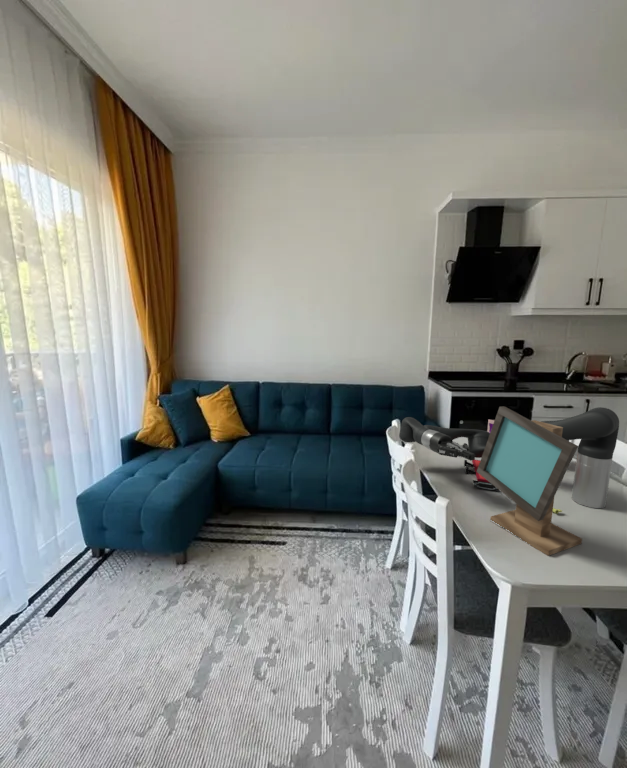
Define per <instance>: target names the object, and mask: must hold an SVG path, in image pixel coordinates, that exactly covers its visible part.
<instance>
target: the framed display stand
mask: <svg viewBox="0 0 627 768" xmlns="http://www.w3.org/2000/svg"><path fill="white" fill-rule="evenodd" d="M531 421H532V422H534V423H536V424H538V425H540V426H542V427H544V428H545V429H547V430H549V431H551V432H553V433H555V434H557V435H558V436H560V437H562V431H563V427H559V426H555V425H551V424H547V423H543V422H541V421H539V420H535V419H534V420H533V419H532V420H531ZM554 501H555V497H554V498H553V500H552V502H551V504H550V506H549V508H548V511H547V513H546V515H545V517H544V519H543V520H540V521H537V520H536V519H535V518H534V517H532V516H531V515H530V514H529V513H527V512H526V511H525V510H524V509H522V508H521V507H520V506H519V505H517V504H516V503H515V509H512V510H510V511H505V512H502V513H499V514H494V515H492V516H490V520H492V521H494V522H495V523H497V524H499V525H500V526H502V527H504V528H505V529H507V530H509V531H510V532H512V533H513V534H514V535H516V536H518V537H519V538H521V539H522V540H521V539H520V540H521V541H523V542H524V541H525V542H524V543H526V542H527V543H526V544H527V545H529V544H530V546H531V547H533V548H534V549H536V550H538V551H539V552H541V553H542V554H544V555H546V556H547V557H549V556H551V555H552V556H553V555H555V554H558V553H560V552H562V551H563V552H564V551H565V550H567V549H570V548H575V547H576V546H579V545H582V542H583V538H582V537H580V536H577V535H575V534H574V533H572V532H570V531H568V530H566V529H564V528H562V527H560V526H559V525H557V524H554V523H552V519H553V518H552V517H553V513H554V512H553V508H554ZM490 520H489V521H490ZM513 534H512V535H513ZM514 535H513V536H514ZM516 536H515V537H516ZM518 537H517V538H518ZM519 538H518V539H519Z"/></svg>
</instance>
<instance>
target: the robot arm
mask: <svg viewBox="0 0 627 768" xmlns="http://www.w3.org/2000/svg"><path fill="white" fill-rule="evenodd" d="M540 422H543V423H547V424H551V425H555V426H559V427H563V431H562V438H564V439H566V440H569V441H574V440H575V441H576V440H580V441H579V444H578V445H577V446H578V448H577V455H576V461H575V469H574V476H573V477H574V478H573V485H572V490H571V491H572V493H571V499H572V500H573V501H574V502H576V503H577V504H579V505H582V506H586V507H588V508H592V509H602V508H603V509H604V508H605V507H606V503H607V498H608V491H609V485H610V478H611V471H612V463H613V458H614V457H613V455H614V452H615V449H616V445H617V440H618V434H619V429H620V419H619V416H618V415H617V414H616V412H615V411H613V410H612V409H610V408H607V407H599V406H598V407H593V408H592V409H589V410H588V411H587V410H586V412H584V413H581V414H578V415H574V416H571V417H568V418H564V419H563V418H562V419H559V420H544V421H540ZM489 435H490V433H489V432H487V430H482V429H474V428H473V429H471V428H451V427H450V428H449V427H441V426H435V425H430V424H425V425H423V424H422V423H421V422H420V421H419V420H418V419H416V418H414V417H412V416H407V417H404V418H403V419H402V421H401V425H400V430H399V434H398V437H399V439H400V441H402V442H404V443H417V444H419V445H421V446H422V447H425V448H426V449H428V450H430V451H432V452H434V453H437V454H439V456H440V455H441V456H445V457H450V458H451V457H452V458H464V459H465V460H467V461H470V462H472V460H476V458H477V459H481V458H482V455H483V452H484V449H485V446H486V444H487V441H488V438H489ZM459 438H467V443H465V442H464V443H463V444H460V443H458V442H456V441H454V440H457V439H459Z"/></svg>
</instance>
